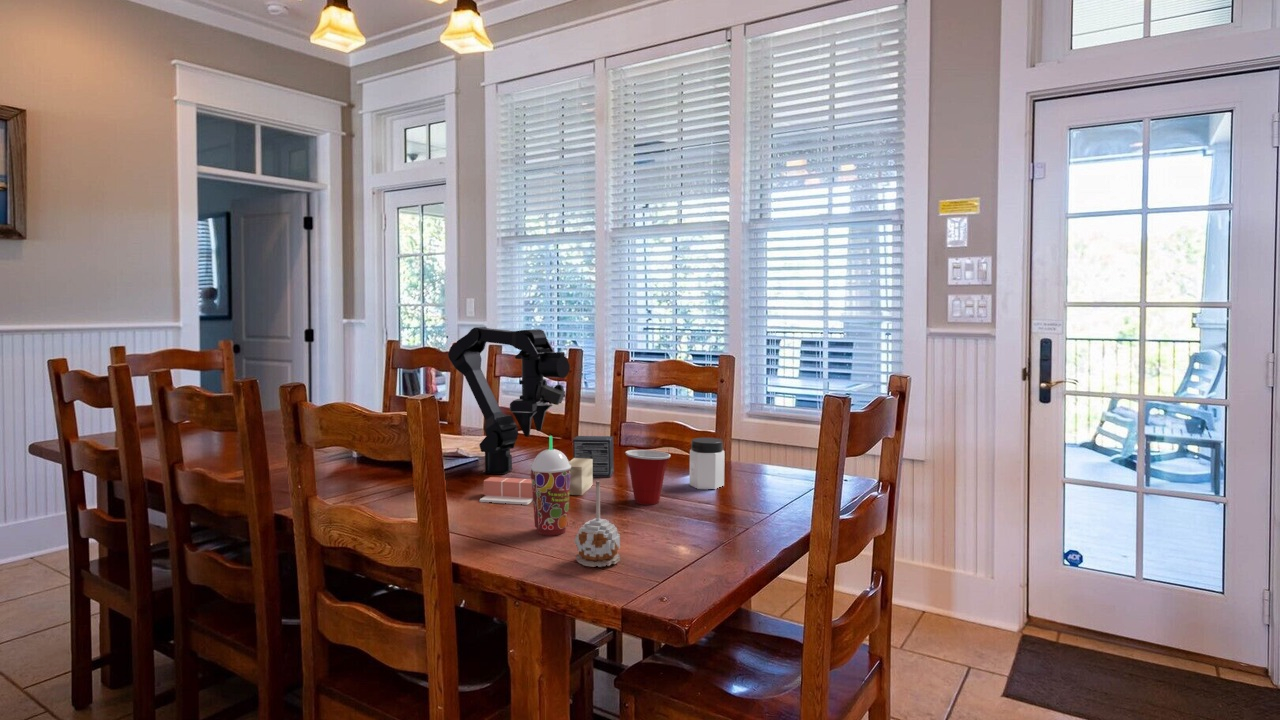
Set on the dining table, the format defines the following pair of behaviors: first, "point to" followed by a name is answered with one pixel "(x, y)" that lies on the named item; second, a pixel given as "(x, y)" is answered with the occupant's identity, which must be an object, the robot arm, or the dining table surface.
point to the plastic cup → (647, 474)
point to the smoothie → (551, 491)
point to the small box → (596, 453)
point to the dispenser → (581, 475)
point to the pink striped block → (508, 487)
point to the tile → (506, 499)
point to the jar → (707, 463)
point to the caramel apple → (597, 540)
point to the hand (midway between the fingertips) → (533, 433)
